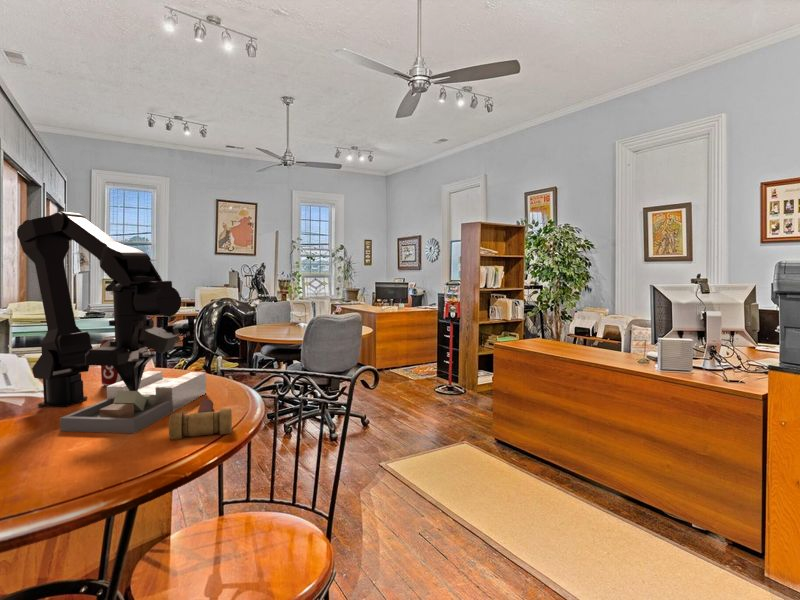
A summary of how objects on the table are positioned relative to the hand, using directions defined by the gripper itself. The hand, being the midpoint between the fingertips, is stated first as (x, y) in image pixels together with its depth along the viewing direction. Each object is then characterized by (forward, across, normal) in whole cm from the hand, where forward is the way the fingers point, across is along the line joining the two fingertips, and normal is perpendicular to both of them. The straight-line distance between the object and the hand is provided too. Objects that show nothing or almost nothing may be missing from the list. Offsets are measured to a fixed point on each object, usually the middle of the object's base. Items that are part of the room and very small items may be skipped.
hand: (133, 391), depth 94 cm
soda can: (+5, +22, +19) cm, 29 cm away
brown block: (+1, -5, 0) cm, 5 cm away
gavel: (+5, -2, -16) cm, 17 cm away
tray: (+4, -4, 0) cm, 6 cm away
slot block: (+4, +9, 0) cm, 10 cm away
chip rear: (+3, -2, 0) cm, 3 cm away
